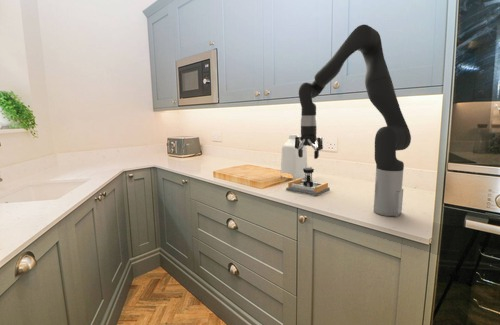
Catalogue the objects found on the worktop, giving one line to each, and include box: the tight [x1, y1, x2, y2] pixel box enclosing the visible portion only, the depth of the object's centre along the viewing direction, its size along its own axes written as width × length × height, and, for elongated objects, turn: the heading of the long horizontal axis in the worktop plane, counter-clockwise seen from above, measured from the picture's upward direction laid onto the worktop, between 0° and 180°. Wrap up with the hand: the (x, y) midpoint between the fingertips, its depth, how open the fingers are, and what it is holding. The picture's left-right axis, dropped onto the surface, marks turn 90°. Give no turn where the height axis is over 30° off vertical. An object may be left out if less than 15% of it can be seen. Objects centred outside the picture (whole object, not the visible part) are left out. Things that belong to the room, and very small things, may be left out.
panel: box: [285, 178, 331, 197], centre depth 139 cm, size 17×14×4 cm
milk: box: [280, 134, 308, 181], centre depth 167 cm, size 12×12×26 cm
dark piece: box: [300, 166, 315, 187], centre depth 139 cm, size 7×5×10 cm
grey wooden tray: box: [291, 179, 323, 192], centre depth 139 cm, size 13×10×2 cm
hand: (308, 157), depth 136 cm, fingers open, 8 cm apart
